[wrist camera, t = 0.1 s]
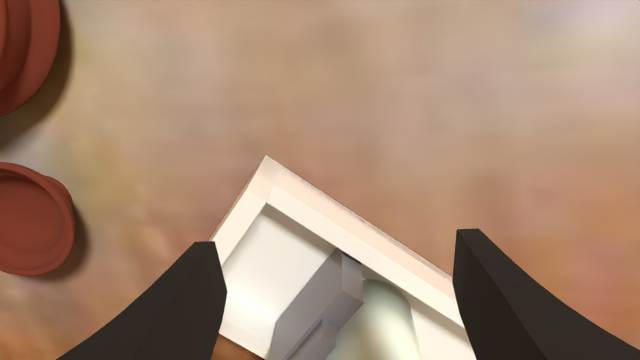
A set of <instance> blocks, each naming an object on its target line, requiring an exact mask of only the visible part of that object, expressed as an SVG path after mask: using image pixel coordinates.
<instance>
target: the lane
mask: <svg viewBox="0 0 640 360" xmlns="http://www.w3.org/2000/svg"><path fill="white" fill-rule="evenodd" d="M208 241H215V244H216V248H217V252H218V256H219V260H220V264H221V268H222V272H223V276H224V279H225V283H226V287H227V291H228V292H227V298H226V304H225V309H224V314H223V320H222V324H221V327H220V330H219V334H221V335H223V336H225V337H227V338H228V339H230V340H232V341H234V342H235V343H237V344H239V345H241V346H242V347H244V348H246V349H248V350H249V351H251V352H253V353H255V354H257V355H258V356H260V357H262V358H264V359H265V360H268V359H269V355H270V350H271V346H272V341H273V336H274V332H275V327H276V323H277V320H278V319H279V318H280V317H281V315H282V314H283V313H284V312H285V311H286V309H287V308H288V307H289V306H290V304H291V303H292V302H293V301H294V299H295V298H296V297H297V296H298V294H299V293H300V292H301V291H302V290H303V288H304V287H305V286H306V285H307V283H308V282H309V281H310V280H311V278H312V277H313V276H314V275H315V273H316V272H317V271H318V270H319V269H320V267H321V266H322V265H323V264H324V262H325V261H326V260H327V259H328V257H329V256H330V255H331V254H332V252H333V251H334V250H335V249H336V248H337V247H338V248H339V249H341V250H342V251H344V252H346V253H347V254H349V255H350V256H352V257H353V258H355V259H357V260H358V261H360V262H361V269H362V280H366V279H370V280H379V281H383V282H386V283H388V284H390V285H392V286H394V287H396V288H397V289H398V290H400V291H401V292H402V293H403V295H404V296H405V297H406V299H407V300H408V302H409V305H410V308H411V312H412V317H413V321H414V326H415V330H416V334H417V339H418V343H419V348H420V352H421V356H422V360H476V357H475V354H474V352H473V349H472V346H471V344H470V341H469V338H468V336H467V333H466V330H465V327H464V325H463V322H462V319H461V316H460V314H459V309H458V305H457V301H456V297H455V293H454V288H453V284H452V279H453V277H451V276H450V275H448V274H447V273H445V272H444V271H442V270H441V269H439V268H438V267H436V266H435V265H433V264H432V263H430V262H429V261H427V260H425V259H424V258H422V257H421V256H419V255H418V254H416V253H415V252H413V251H412V250H410V249H409V248H407V247H406V246H404V245H403V244H401V243H400V242H398V241H396V240H395V239H393V238H392V237H390V236H389V235H387V234H386V233H384V232H383V231H381V230H380V229H378V228H377V227H375V226H374V225H372V224H371V223H369V222H367V221H366V220H364V219H363V218H361V217H360V216H358V215H357V214H355V213H354V212H352V211H351V210H349V209H348V208H346V207H345V206H343V205H342V204H340V203H338V202H337V201H335V200H334V199H332V198H331V197H329V196H328V195H326V194H325V193H323V192H322V191H320V190H319V189H317V188H316V187H314V186H313V185H311V184H309V183H308V182H306V181H305V180H303V179H302V178H300V177H299V176H297V175H296V174H294V173H293V172H291V171H290V170H288V169H287V168H285V167H284V166H282V165H281V164H279V163H277V162H276V161H274V160H273V159H271V158H270V157H268V156H267V155H265V157H264V158H263V160H262V161H261V163H260V164H259V166H258V167H257V169H256V170H255V172H254V173H253V175H252V176H251V178H250V179H249V181H248V182H247V184H246V185H245V186H244V188H243V189H242V191H241V192H240V194H239V195H238V197H237V198H236V200H235V201H234V203H233V204H232V206H231V207H230V209H229V210H228V212H227V213H226V215H225V216H224V218H223V219H222V221H221V222H220V224H219V225H218V227H217V228H216V230H215V231H214V233H213V234H212V236H211V237H210V239H209V240H208Z"/></svg>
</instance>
